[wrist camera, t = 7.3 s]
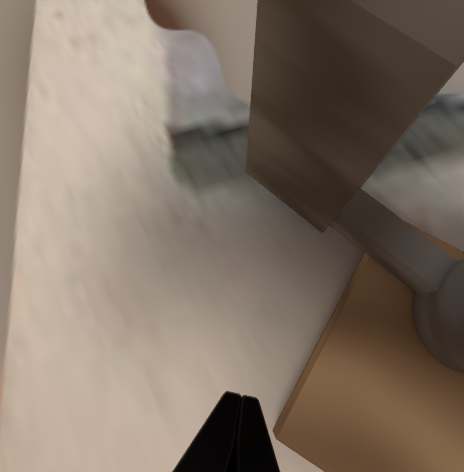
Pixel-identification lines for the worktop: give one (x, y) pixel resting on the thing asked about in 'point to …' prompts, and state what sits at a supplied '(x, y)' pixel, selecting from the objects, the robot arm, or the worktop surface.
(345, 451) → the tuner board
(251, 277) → the worktop surface
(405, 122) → the upright block on board
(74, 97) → the worktop surface
